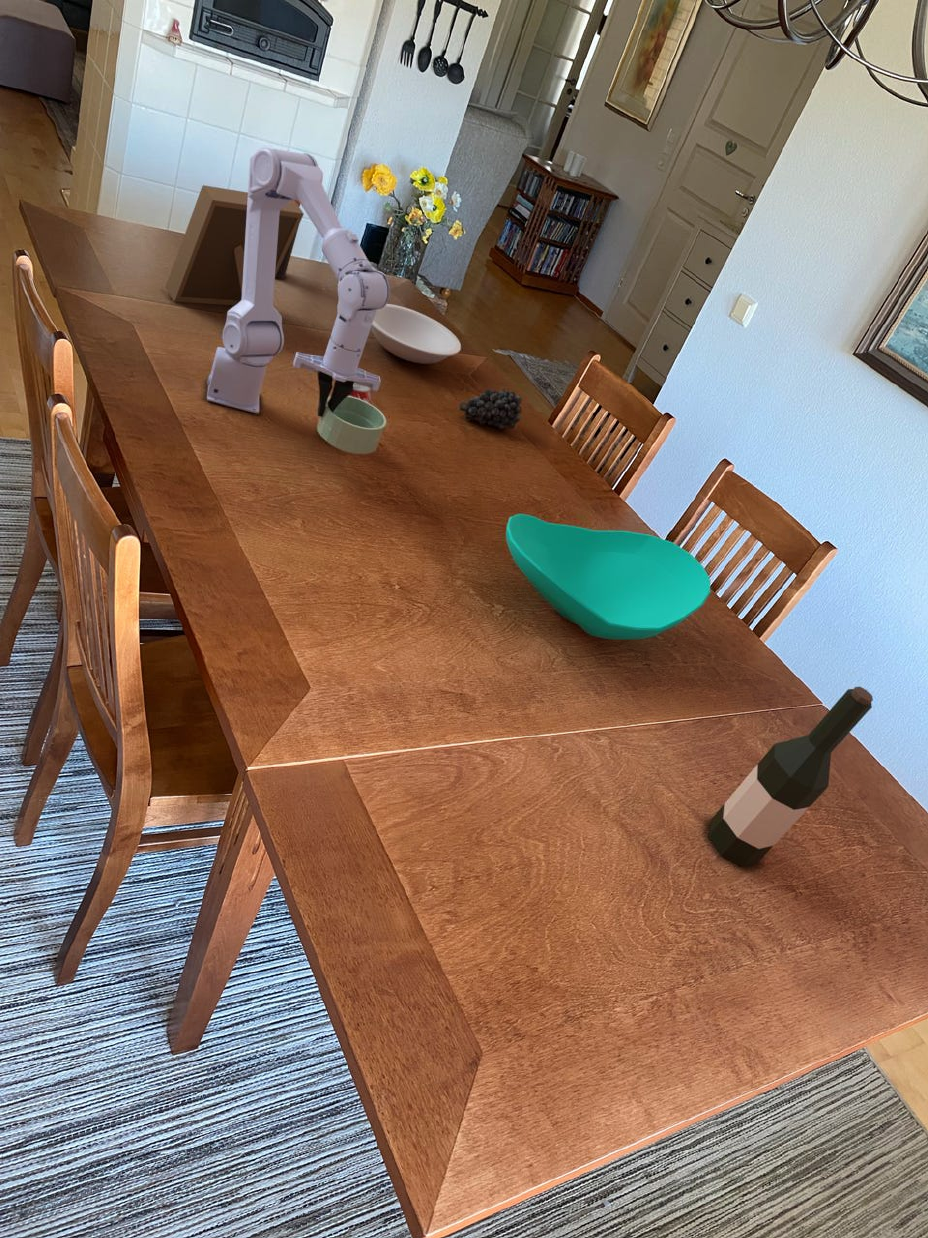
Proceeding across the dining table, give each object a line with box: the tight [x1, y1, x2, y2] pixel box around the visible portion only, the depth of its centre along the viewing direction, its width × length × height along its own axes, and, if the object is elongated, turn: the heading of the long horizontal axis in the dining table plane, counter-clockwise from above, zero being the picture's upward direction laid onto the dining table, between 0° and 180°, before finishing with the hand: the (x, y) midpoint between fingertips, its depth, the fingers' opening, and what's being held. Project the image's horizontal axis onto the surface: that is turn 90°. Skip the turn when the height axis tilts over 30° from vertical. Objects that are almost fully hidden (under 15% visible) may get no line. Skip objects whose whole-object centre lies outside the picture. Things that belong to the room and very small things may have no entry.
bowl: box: [316, 395, 387, 455], centre depth 161 cm, size 11×11×6 cm
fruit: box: [458, 388, 524, 430], centre depth 206 cm, size 9×8×15 cm
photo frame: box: [165, 184, 305, 306], centre depth 194 cm, size 15×22×25 cm
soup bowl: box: [370, 303, 462, 365], centre depth 219 cm, size 24×24×7 cm
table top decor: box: [505, 513, 711, 640], centre depth 157 cm, size 40×28×13 cm
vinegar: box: [275, 200, 301, 280], centre depth 223 cm, size 7×7×20 cm
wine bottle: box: [707, 686, 874, 868], centre depth 121 cm, size 8×8×30 cm
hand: (323, 414), depth 159 cm, fingers closed on bowl
